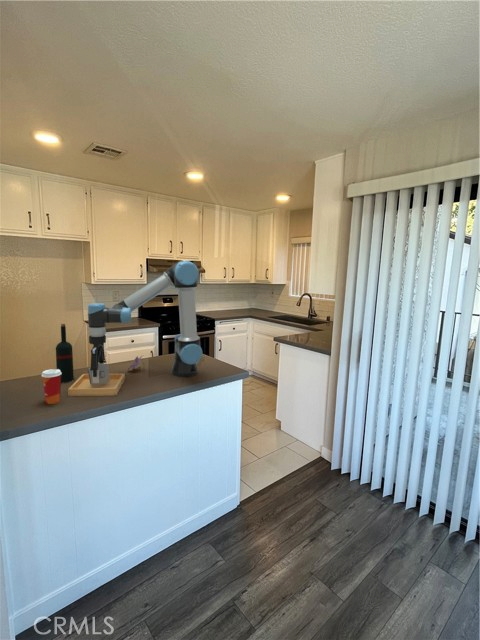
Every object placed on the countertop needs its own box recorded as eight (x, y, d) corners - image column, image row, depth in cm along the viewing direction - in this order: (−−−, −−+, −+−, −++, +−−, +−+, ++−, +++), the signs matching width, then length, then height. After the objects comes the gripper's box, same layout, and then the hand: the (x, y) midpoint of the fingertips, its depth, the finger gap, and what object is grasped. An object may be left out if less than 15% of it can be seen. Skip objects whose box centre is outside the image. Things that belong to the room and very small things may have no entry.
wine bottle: (70, 375, 174) (68, 321, 169) (75, 380, 167) (73, 324, 162) (54, 377, 169) (51, 322, 164) (58, 383, 162) (55, 325, 157)
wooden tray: (124, 379, 172) (124, 373, 171) (115, 395, 151) (115, 388, 150) (83, 380, 168) (83, 373, 168) (68, 396, 148) (68, 389, 147)
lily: (144, 368, 195) (136, 354, 194) (153, 365, 187) (145, 351, 186) (128, 378, 187) (119, 364, 185) (136, 376, 178) (128, 361, 177)
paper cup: (48, 397, 145) (46, 368, 143) (66, 398, 146) (64, 368, 144) (39, 405, 138) (37, 374, 135) (57, 405, 138) (56, 374, 136)
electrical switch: (92, 387, 154) (90, 368, 153) (87, 385, 157) (85, 366, 156) (110, 382, 161) (109, 364, 160) (105, 380, 164) (104, 362, 163)
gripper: (95, 330, 165) (96, 371, 169) (81, 340, 144) (83, 387, 148) (110, 330, 166) (111, 371, 170) (99, 340, 145) (100, 387, 149)
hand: (98, 379), depth 159 cm, fingers closed on electrical switch, 9 cm apart
